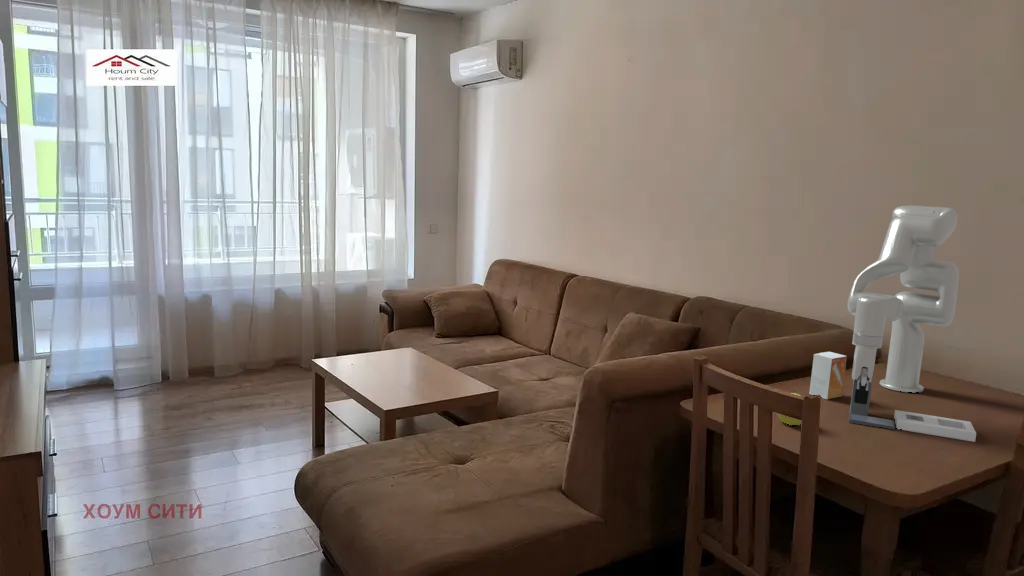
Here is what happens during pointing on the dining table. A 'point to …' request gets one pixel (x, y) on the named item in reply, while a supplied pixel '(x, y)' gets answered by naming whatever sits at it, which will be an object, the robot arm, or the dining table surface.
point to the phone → (871, 421)
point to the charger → (856, 407)
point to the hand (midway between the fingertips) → (860, 398)
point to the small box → (828, 375)
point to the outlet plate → (935, 425)
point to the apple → (789, 420)
